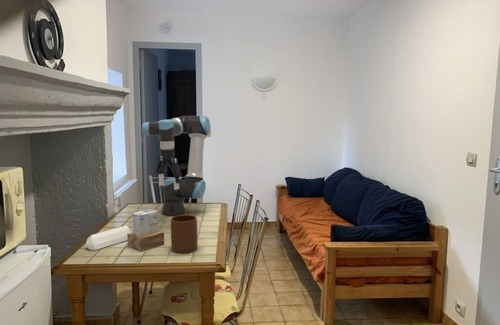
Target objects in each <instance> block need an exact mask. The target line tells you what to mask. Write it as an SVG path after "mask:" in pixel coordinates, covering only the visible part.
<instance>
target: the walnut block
mask: <svg viewBox="0 0 500 325" xmlns="http://www.w3.org/2000/svg"><path fill="white" fill-rule="evenodd" d="M127 238H128V240H127V247H129V248H132V249H134V250H136V251H139V252H145V251H148V250H151V249H152V250H153V249H155V248H158V247H160V246H164V245H165V232H163V231H159V230H158V232H155V233H151V234H148V235H144V236H137V235H135V234H134V232H133V231H131V233H128V234H127Z"/></svg>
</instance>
